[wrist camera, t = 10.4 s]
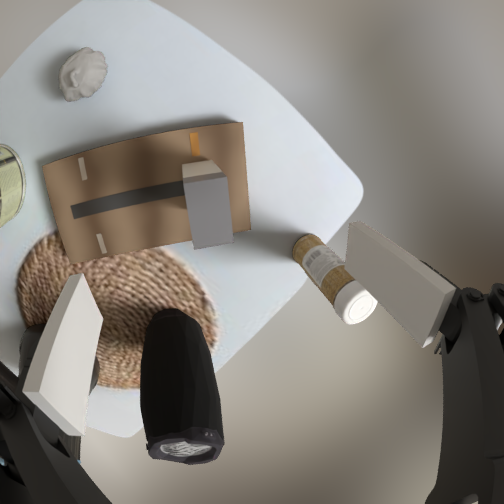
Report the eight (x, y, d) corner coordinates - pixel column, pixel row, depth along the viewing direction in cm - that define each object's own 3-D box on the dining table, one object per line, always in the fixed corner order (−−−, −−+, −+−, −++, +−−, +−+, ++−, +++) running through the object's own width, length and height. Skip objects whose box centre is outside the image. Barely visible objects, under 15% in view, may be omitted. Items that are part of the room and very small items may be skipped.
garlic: (103, 105, 22) (88, 102, 17) (62, 102, 20) (41, 100, 16) (119, 53, 20) (108, 41, 15) (77, 52, 18) (59, 41, 13)
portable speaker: (133, 334, 36) (128, 458, 19) (168, 293, 34) (175, 430, 17) (179, 357, 40) (195, 470, 23) (216, 321, 38) (250, 444, 21)
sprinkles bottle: (300, 269, 38) (349, 333, 26) (285, 246, 35) (336, 309, 24) (326, 250, 37) (383, 307, 26) (313, 226, 35) (374, 280, 24)
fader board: (75, 256, 28) (70, 264, 26) (49, 163, 22) (41, 166, 21) (246, 223, 32) (251, 229, 31) (238, 122, 27) (242, 122, 25)
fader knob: (188, 211, 27) (194, 249, 20) (182, 164, 25) (183, 183, 17) (217, 206, 28) (233, 242, 20) (211, 159, 26) (227, 177, 18)
